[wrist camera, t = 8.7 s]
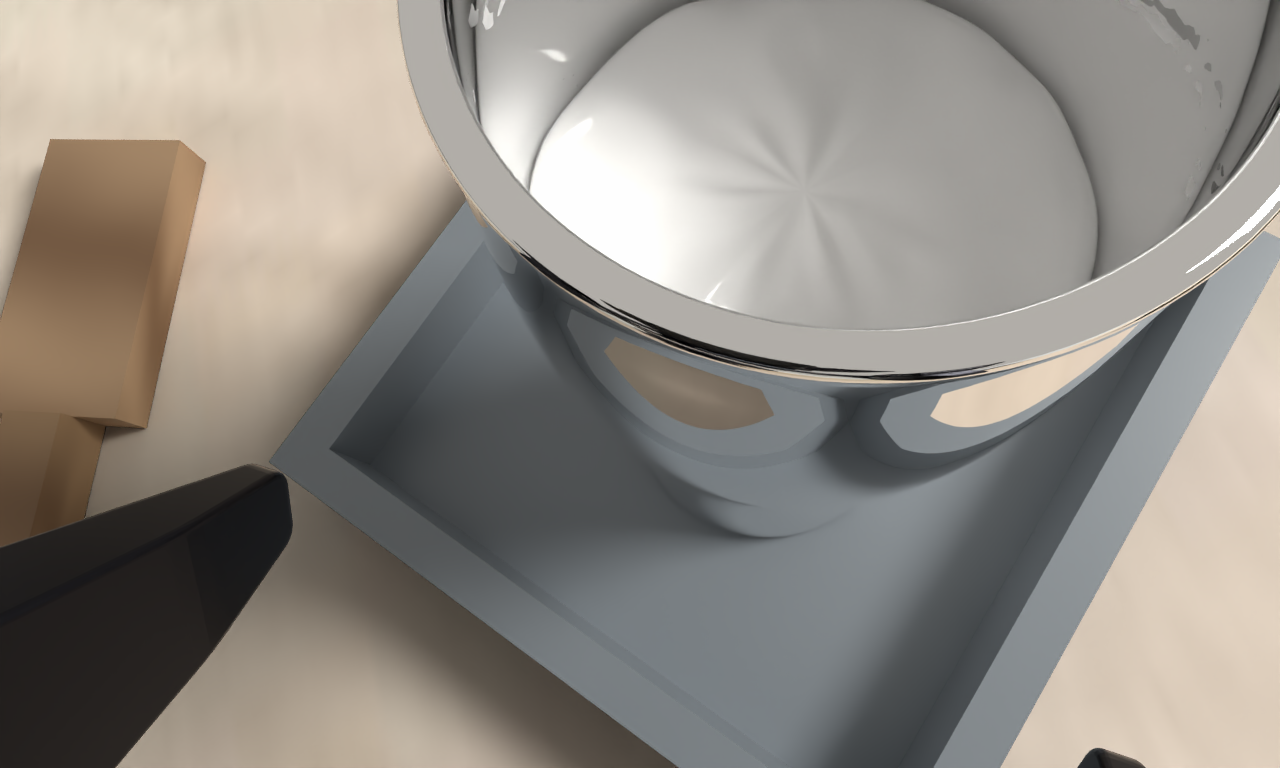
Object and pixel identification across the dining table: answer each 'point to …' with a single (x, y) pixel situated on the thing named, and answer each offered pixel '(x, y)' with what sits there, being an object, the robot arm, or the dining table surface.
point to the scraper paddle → (87, 317)
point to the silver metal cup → (844, 214)
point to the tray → (743, 565)
